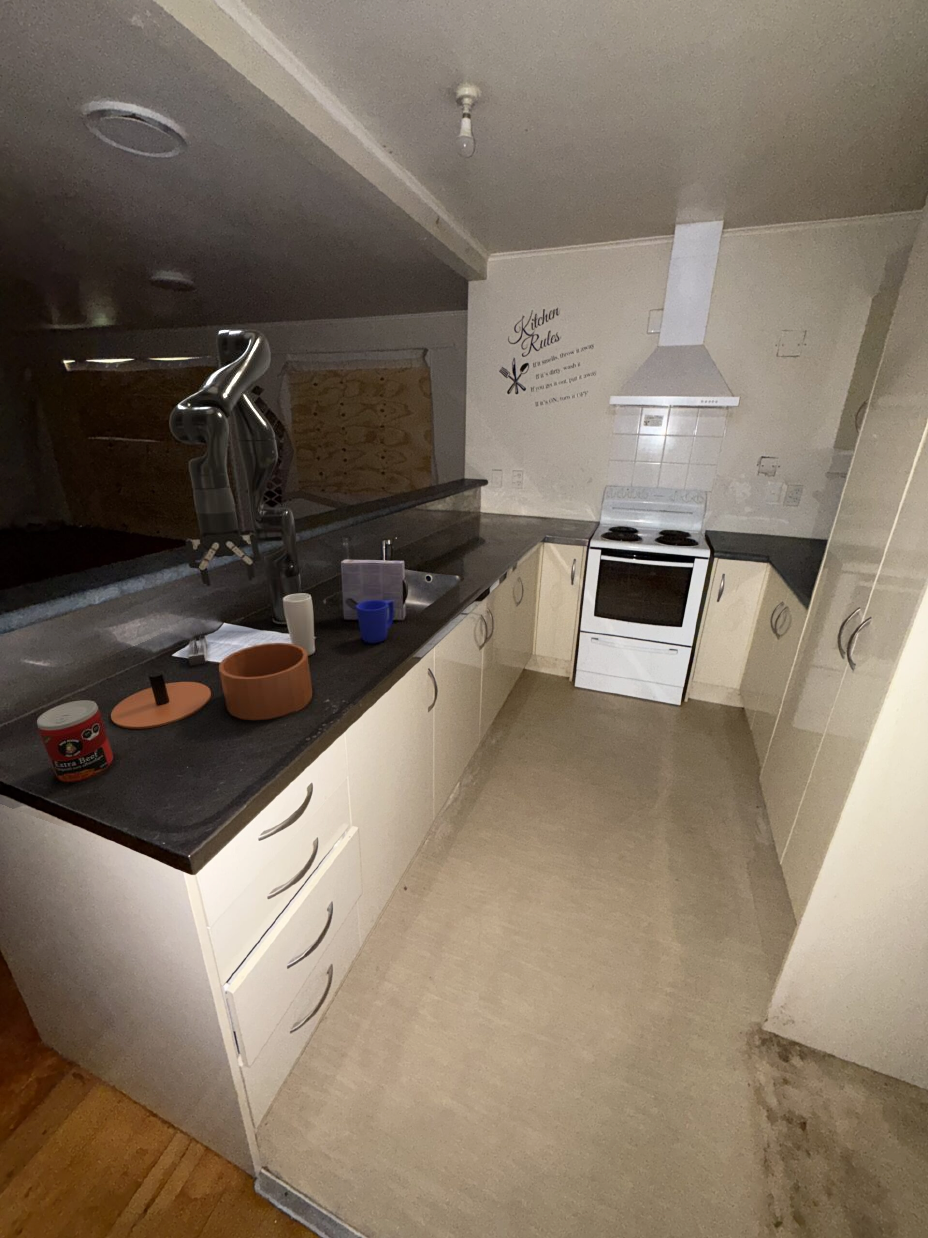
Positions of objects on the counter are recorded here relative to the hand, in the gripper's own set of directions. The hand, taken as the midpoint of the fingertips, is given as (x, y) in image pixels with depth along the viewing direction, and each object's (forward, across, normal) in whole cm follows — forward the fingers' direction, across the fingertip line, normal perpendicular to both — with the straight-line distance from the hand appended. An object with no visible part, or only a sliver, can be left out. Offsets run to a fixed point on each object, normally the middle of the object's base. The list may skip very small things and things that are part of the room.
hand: (229, 582), depth 108 cm
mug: (+21, -34, -2) cm, 40 cm away
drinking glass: (+21, -14, -1) cm, 26 cm away
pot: (+21, -3, +20) cm, 29 cm away
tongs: (+21, +10, -12) cm, 26 cm away
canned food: (+21, +27, +29) cm, 45 cm away
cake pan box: (+22, -38, -17) cm, 47 cm away
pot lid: (+20, +16, +12) cm, 29 cm away
